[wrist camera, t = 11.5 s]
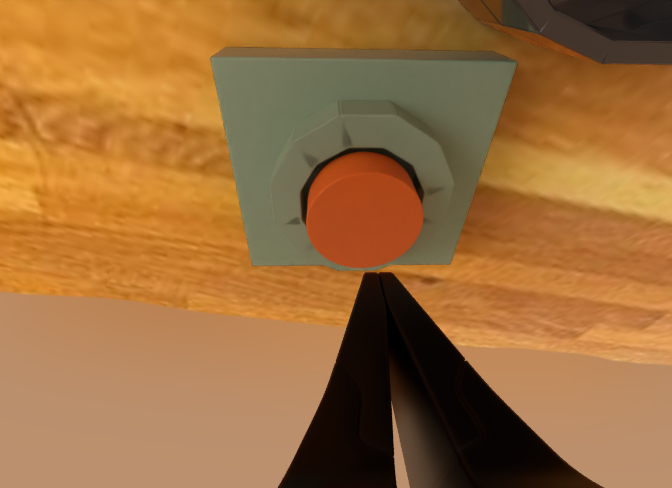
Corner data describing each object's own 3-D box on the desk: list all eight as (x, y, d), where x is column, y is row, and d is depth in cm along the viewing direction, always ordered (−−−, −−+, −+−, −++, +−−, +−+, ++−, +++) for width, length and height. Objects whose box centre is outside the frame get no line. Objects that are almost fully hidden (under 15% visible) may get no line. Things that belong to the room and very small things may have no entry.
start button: (422, 151, 12) (435, 172, 11) (404, 242, 15) (413, 268, 13) (305, 150, 12) (303, 172, 11) (309, 242, 15) (308, 268, 13)
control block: (494, 50, 13) (546, 72, 10) (439, 240, 20) (461, 289, 16) (224, 46, 13) (192, 67, 10) (258, 241, 19) (245, 291, 16)
